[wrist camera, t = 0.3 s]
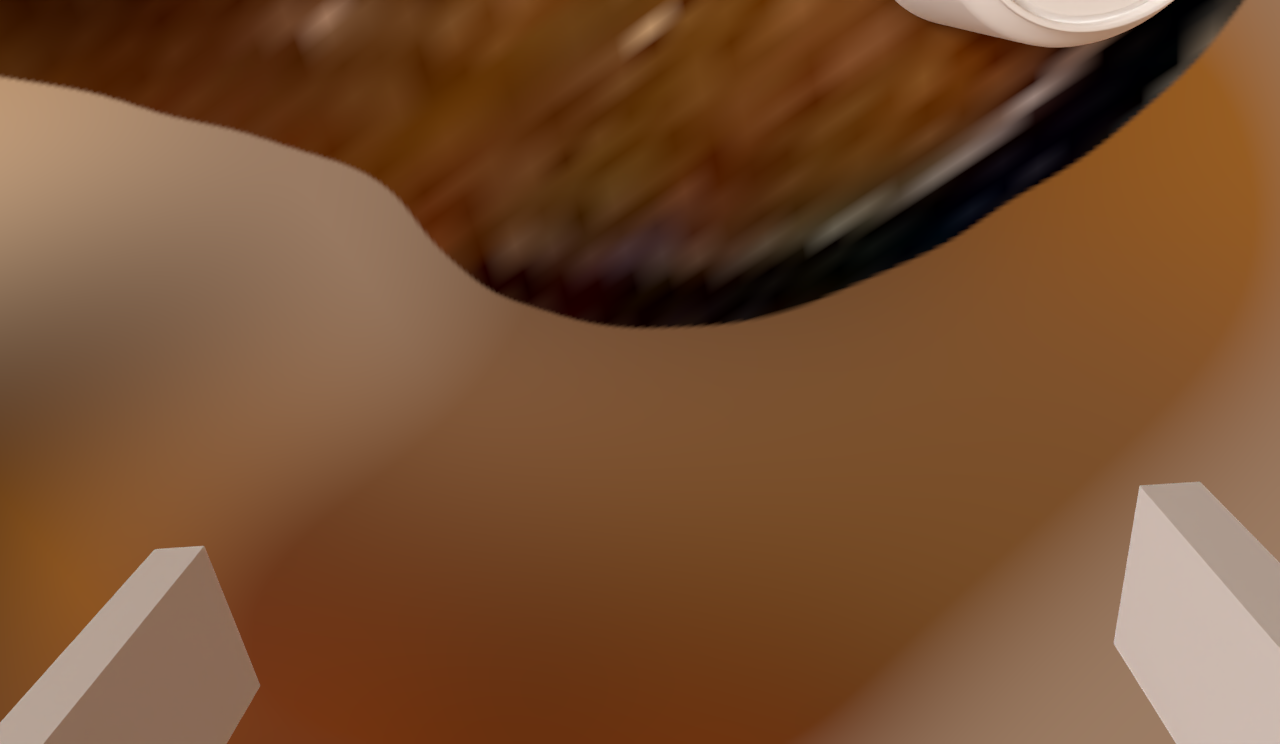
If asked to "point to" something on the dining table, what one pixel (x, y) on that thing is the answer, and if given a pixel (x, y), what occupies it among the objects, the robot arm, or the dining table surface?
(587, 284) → the dining table surface
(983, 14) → the beverage can
